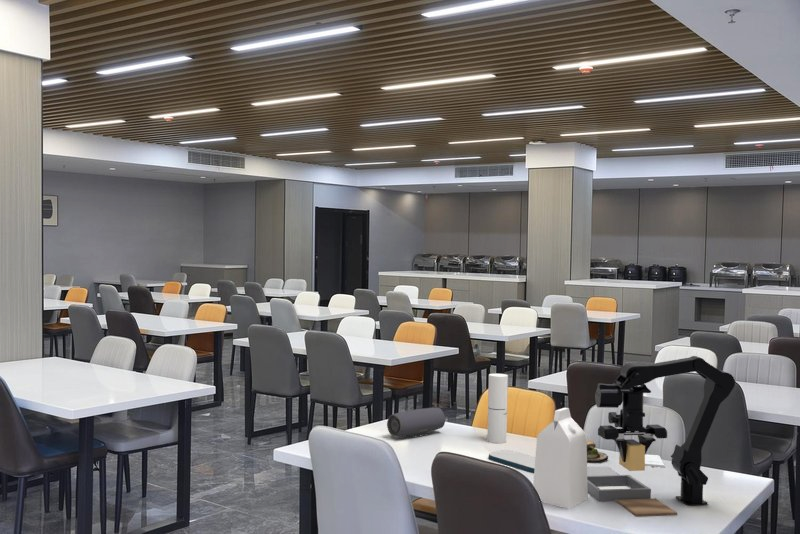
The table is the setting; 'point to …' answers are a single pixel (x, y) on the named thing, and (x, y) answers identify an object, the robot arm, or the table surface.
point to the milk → (561, 462)
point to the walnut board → (646, 507)
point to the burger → (594, 453)
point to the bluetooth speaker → (415, 422)
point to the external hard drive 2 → (654, 461)
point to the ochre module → (634, 456)
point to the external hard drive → (514, 459)
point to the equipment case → (612, 478)
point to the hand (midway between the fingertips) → (631, 461)
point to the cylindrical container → (497, 408)
